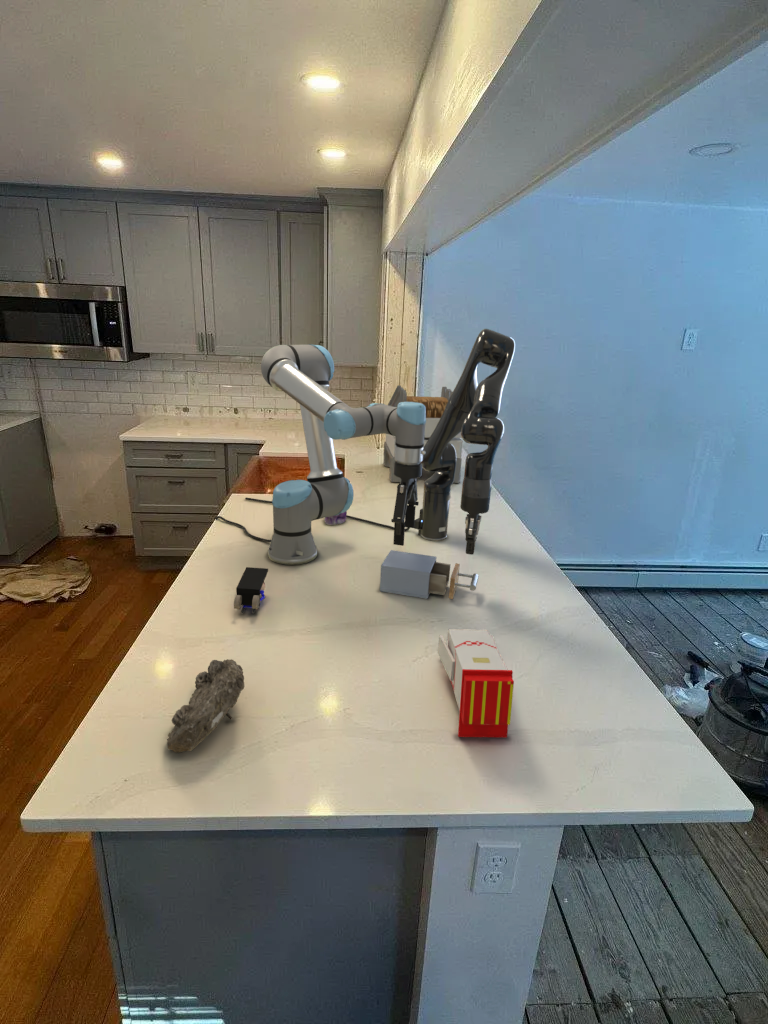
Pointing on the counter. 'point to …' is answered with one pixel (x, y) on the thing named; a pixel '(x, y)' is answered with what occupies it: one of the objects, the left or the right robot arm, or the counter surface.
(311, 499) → the left robot arm
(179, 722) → the fossil
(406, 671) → the counter surface
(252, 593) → the black wheeled rover
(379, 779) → the counter surface
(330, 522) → the figurine
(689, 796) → the counter surface
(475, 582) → the drawer
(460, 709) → the toy
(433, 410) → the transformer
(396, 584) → the cabinet
